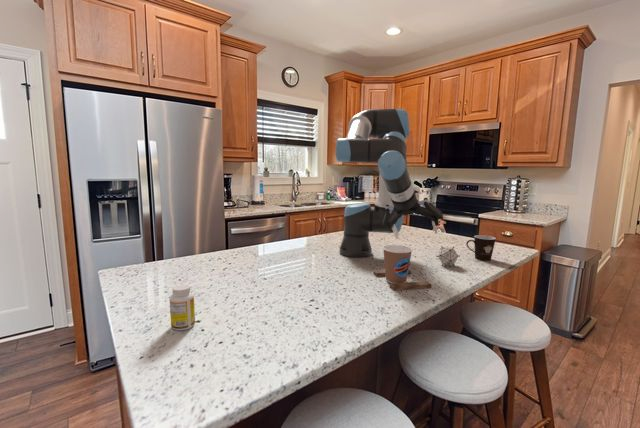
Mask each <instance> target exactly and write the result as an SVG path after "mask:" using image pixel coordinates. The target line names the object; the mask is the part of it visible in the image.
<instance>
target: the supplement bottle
mask: <svg viewBox="0 0 640 428" xmlns="http://www.w3.org/2000/svg"><path fill="white" fill-rule="evenodd" d="M171 293H172V294H171V295H170V296H169V310H170V311H169V312H170V327H171V329H173V330H174V331H178V332H179V331H186V330H190V329H191V328H192V327H194V326H195V324H196V317H195V315H196V314H195V313H196V311H195V295H194V293H193V292H191V286H190V285H189V284H178V285H175V286H173V287H172V292H171Z"/></svg>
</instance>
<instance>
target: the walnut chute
mask: <svg viewBox="0 0 640 428" xmlns="http://www.w3.org/2000/svg"><path fill="white" fill-rule="evenodd" d="M372 271H373V275H374V276H376V277H385V269H380V270H372ZM411 273H412V272H411V270H410V269H409V270H408V274H407V275H411ZM389 288H390V289H392V291H405V290H416V289H418V290H419V289H429V288H432V283H431V282H429V281H427V280H423V281H411V282H408V281H406V282H405V283H394V284H393V283H390V284H389Z"/></svg>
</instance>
